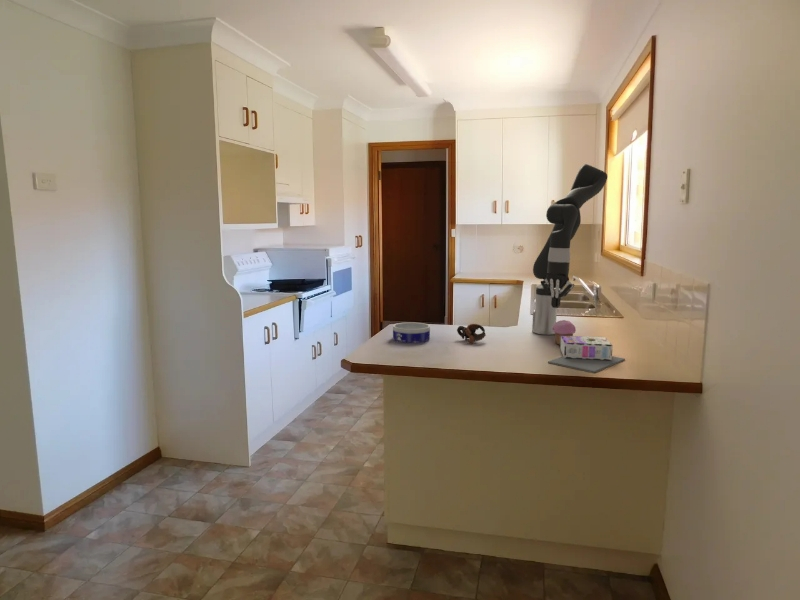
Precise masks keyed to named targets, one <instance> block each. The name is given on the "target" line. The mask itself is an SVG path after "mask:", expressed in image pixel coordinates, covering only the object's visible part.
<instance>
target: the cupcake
mask: <svg viewBox="0 0 800 600" xmlns="http://www.w3.org/2000/svg"><path fill="white" fill-rule="evenodd" d="M552 330H553V331H554V332H555V334H554V335H555V337H554V339H555V341H554V342H555V344H556V345H558V344H559V346H561V336H574V334H575V333H576V331H577V330H576V326H575V324H573V323H572V322H571V321H570V320H565V319H562V320H558V321H556V323H555V324H554V325H553V327H552Z"/></svg>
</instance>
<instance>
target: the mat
mask: <svg viewBox="0 0 800 600" xmlns="http://www.w3.org/2000/svg"><path fill="white" fill-rule="evenodd" d="M624 361H626V358H624V357H618V356H615V355H614V356H613V355H612V360H597V359H577V358H564V356H563V355H562V356H560V357H557V358H554V359H551V360H548V361H547V363H548V364H550V365H556V366H561V367H566V368H569V369H575V370H578V369H579V371H583V370H584V372H588V373H592V374H595V372H596V373H598V372H600V371H602V370H604V369H605V370H606V369H608V368H610V367H611V366H615V365H617V364H619V363H621V362H624Z"/></svg>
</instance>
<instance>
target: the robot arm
mask: <svg viewBox="0 0 800 600" xmlns="http://www.w3.org/2000/svg"><path fill="white" fill-rule="evenodd" d="M607 180H608V173H607V172H605V171H604V170H601V169H599V168H597V167H594V166H592V165H589V164H587V163H585V164H583V165H582V166H581V167H580V168H579V170H578V172H577V174H576V176H575V178H574V181H573V184H572V186H571V188H570V191H569V192H567V194H565V196H564V197H563V198H560V199H559V200H557V201H554V202H553V203H552V204H551V205H549V206H548V208H547V210H546V215H545V216H546V219H547V221H548V223H550V224H552V225H553V224H554V225H553V228H552V230H551V232H550V234H549V237H548V238H547V240H546V242H545V244H544V246H543V248H541V251H540V253H539V254H538V255H537V257H536V259H535V261H534V264H533V268H532V272H533V275H534V277H535V278H537V279H539V280H540V285H538V286H537V287H536V288H535V306H534V307H535V308H534V310H533V311H532V324H531V326H532V327H531V332H532V333H535V334H538V335H546V336H547V335H548V336H549V335H551V336H552V335H555V332H554V331H553V330H552V327H553V325H554V324H555V323H556V322H557V313H558V308H560V306H561V300H562V299H561V298H564V297H566V296H567V295H568V294H569V293H570V292H571V290H572V289H573V288H575V284H574V283H572V282H571V281H570V277H569V273H570V261H571V240H573V238H574V237H575V235H576V233H577V231H578V230H579V227H580V226H581V222H582V221H581V210H580V209H581V208H582V207H583V205H585V204H586V203H587V202H588V201H589V200H591V199H592V198H594V197H595V196H597V195H598V194H599V193H600V192H601V191H602V190H603V188H604V187H605V185H606V183H607Z"/></svg>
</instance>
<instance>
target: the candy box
mask: <svg viewBox="0 0 800 600" xmlns="http://www.w3.org/2000/svg"><path fill="white" fill-rule="evenodd" d="M560 352H561V354H562V356H564V358H577V359H597V360H612V356H613V344H612V343H611V342H610V341H609V339H607V337H606V336H576V335H575V336H574V335H573V336H561V345H560Z"/></svg>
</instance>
